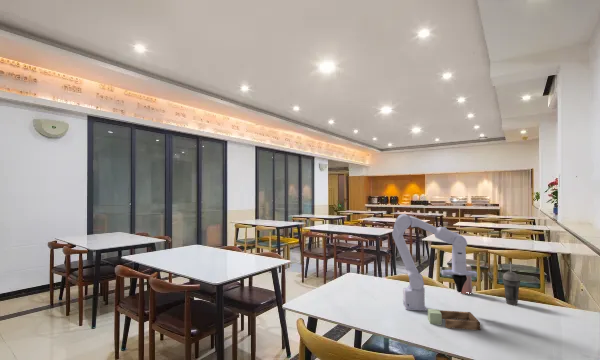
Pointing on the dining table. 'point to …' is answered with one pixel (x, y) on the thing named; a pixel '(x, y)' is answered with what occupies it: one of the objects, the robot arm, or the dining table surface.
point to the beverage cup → (511, 286)
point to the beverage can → (467, 282)
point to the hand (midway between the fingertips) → (459, 291)
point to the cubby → (460, 320)
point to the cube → (434, 316)
